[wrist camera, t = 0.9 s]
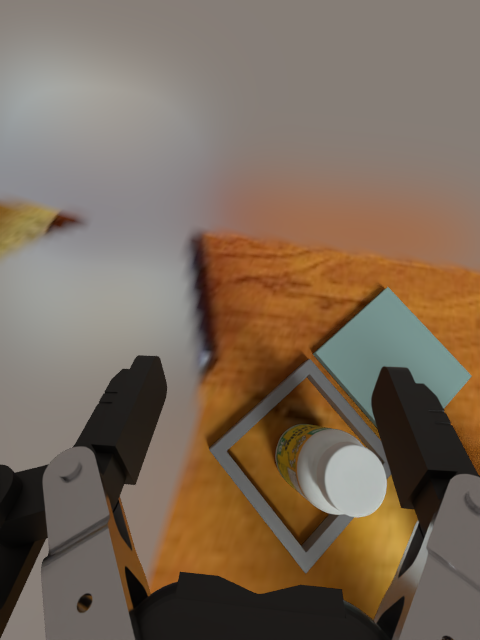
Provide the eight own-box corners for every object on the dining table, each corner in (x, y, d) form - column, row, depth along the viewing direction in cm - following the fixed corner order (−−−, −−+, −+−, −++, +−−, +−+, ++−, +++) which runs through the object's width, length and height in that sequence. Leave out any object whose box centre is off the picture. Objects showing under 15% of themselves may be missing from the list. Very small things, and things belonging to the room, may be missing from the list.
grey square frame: (209, 447, 26) (209, 450, 25) (305, 360, 30) (309, 358, 28) (300, 565, 25) (305, 573, 24) (392, 460, 28) (400, 463, 27)
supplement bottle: (293, 500, 26) (344, 553, 17) (262, 442, 27) (295, 463, 18) (342, 465, 28) (414, 497, 18) (311, 411, 28) (365, 416, 19)
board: (312, 354, 30) (315, 352, 29) (383, 289, 33) (387, 287, 32) (398, 453, 28) (404, 454, 28) (465, 376, 31) (471, 376, 31)
